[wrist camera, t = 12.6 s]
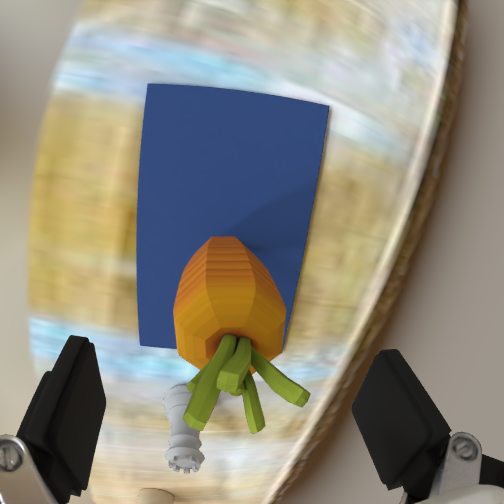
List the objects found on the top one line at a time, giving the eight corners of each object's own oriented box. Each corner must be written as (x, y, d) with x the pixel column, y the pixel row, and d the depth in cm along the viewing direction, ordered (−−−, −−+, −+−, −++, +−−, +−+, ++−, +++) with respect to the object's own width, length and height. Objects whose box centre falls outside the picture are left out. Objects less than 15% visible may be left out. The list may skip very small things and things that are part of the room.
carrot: (269, 225, 22) (352, 381, 9) (239, 285, 24) (275, 467, 10) (201, 197, 21) (185, 339, 7) (176, 261, 23) (142, 444, 9)
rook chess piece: (189, 375, 27) (186, 446, 20) (219, 401, 29) (223, 469, 22) (154, 393, 28) (145, 461, 20) (184, 417, 29) (182, 482, 22)
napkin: (149, 84, 18) (147, 83, 18) (327, 106, 20) (329, 105, 20) (140, 342, 25) (139, 345, 25) (280, 351, 27) (281, 353, 27)
